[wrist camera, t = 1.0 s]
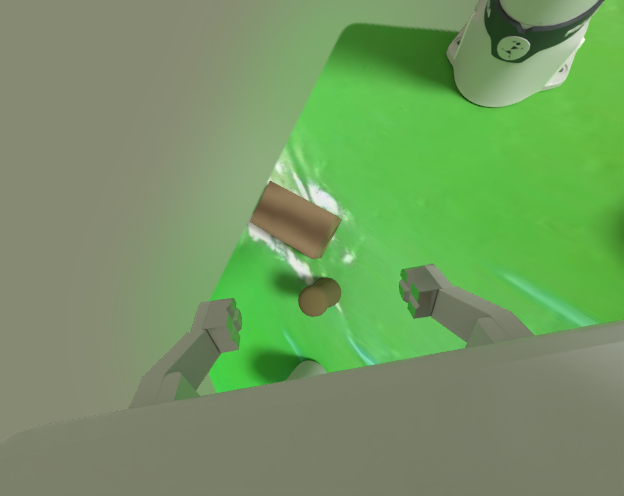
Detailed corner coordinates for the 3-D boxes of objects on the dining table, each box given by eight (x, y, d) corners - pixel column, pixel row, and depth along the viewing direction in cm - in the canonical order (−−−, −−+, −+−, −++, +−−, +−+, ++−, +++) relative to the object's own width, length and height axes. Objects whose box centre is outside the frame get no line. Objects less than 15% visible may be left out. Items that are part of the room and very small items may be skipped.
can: (309, 401, 52) (286, 444, 40) (288, 369, 53) (261, 402, 42) (336, 383, 50) (321, 423, 38) (315, 351, 51) (294, 380, 40)
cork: (307, 293, 52) (286, 304, 41) (324, 271, 51) (307, 276, 40) (328, 313, 51) (313, 329, 40) (347, 290, 49) (336, 301, 39)
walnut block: (282, 188, 54) (270, 180, 48) (341, 219, 50) (335, 215, 44) (264, 224, 55) (250, 221, 49) (320, 258, 51) (312, 259, 45)
